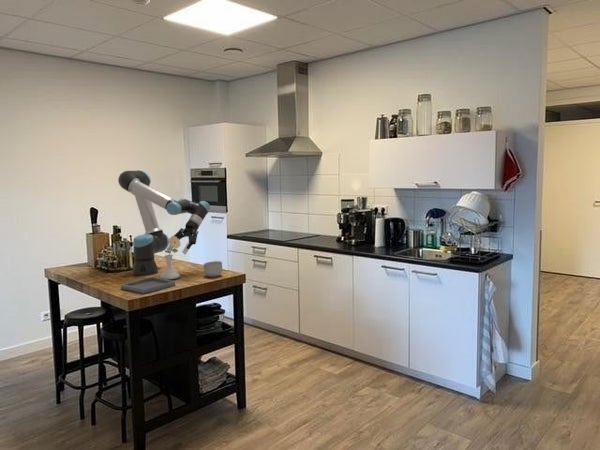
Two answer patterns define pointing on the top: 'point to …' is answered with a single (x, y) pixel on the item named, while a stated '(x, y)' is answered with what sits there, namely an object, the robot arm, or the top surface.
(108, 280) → the top surface
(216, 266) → the teacup
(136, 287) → the charcoal tray
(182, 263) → the top surface
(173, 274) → the flower in vase
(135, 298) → the top surface
